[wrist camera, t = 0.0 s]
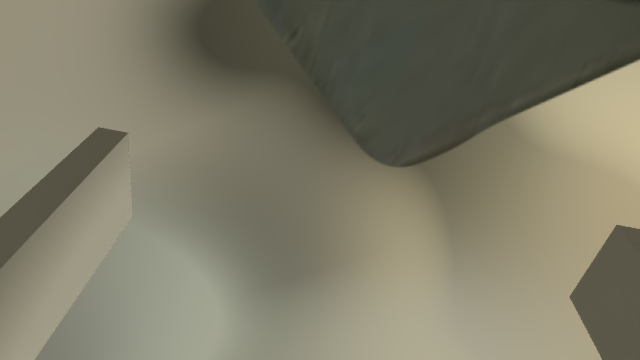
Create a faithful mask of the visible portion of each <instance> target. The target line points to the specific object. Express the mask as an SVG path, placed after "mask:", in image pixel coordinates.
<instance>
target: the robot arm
mask: <svg viewBox="0 0 640 360" xmlns="http://www.w3.org/2000/svg"><path fill="white" fill-rule="evenodd" d="M131 218H132V203H131V183H130V162H129V140H128V133H126V132H120V131H115V130H109V129H104V128H97V129H96V130H95V131H94V132H93V133H92V134H91V135H90V136H89V137H88V138H86V139H85V140H84V141H83V142H82V143H81V144H80V145H79V146H78V147H77V148H75V149H74V150H73V151H72V152H71V153H70V154H69V155H68V156H67V157H66V158H65V159H63V160H62V161H61V162H60V163H59V164H58V165H57V166H56V167H55V168H54V169H53V170H52V171H50V173H48V174H47V175H46V176H45V177H44V178H43V179H42V180H41V181H40V182H39V183H37V184H36V185H35V186H34V187H33V188H32V189H31V190H30V191H29V192H28V193H26V194H25V195H24V196H23V197H22V198H21V199H20V200H19V201H18V202H17V203H16V204H15V205H13V206H12V207H11V208H10V209H9V210H8V211H7V212H6V213H5V214H4V215H3V216H1V218H0V360H35V358H36V357H37V355H38V354H39V352H40V351H41V349H42V348H43V346H44V345H45V344H46V342H47V341H48V339H49V338H50V336H51V335H52V333H53V332H54V330H55V329H56V328H57V326H58V325H59V323H60V322H61V320H62V319H63V317H64V316H65V314H66V313H67V311H68V310H69V309H70V307H71V306H72V304H73V303H74V301H75V299H76V298H77V297H78V295H79V294H80V293H81V291H82V290H83V288H84V287H85V285H86V284H87V282H88V281H89V279H90V278H91V277H92V275H93V274H94V272H95V271H96V269H97V267H98V266H99V265H100V263H101V262H102V261H103V259H104V258H105V256H106V255H107V253H108V251H109V250H110V249H111V247H112V246H113V244H114V243H115V242H116V240H117V239H118V237H119V236H120V234H121V233H122V231H123V230H124V228H125V227H126V226H127V224H128V223H129V221H130V220H131ZM570 299H571V300H572V302H573V304H574V306H575V308H576V310H577V312H578V314H579V316H580V318H581V320H582V321H583V323H584V325H585V327H586V329H587V331H588V333H589V335H590V337H591V339H592V340H593V342H594V344H595V346H596V348H597V350H598V352H599V354H600V356H601V358H602V360H640V229H636V228H630V227H625V226H620V225H616V227H615V228H614V230H613V231H612V233H611V234H610V236H609V237H608V239H607V240H606V242H605V243H604V245H603V246H602V248H601V250H600V251H599V253H598V254H597V256H596V257H595V259H594V260H593V262H592V263H591V265H590V266H589V268H588V269H587V271H586V272H585V274H584V276H583V277H582V278H581V280H580V282H579V283H578V285H577V286H576V288H575V289H574V291H573V292H572V294H571V295H570Z"/></svg>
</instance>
